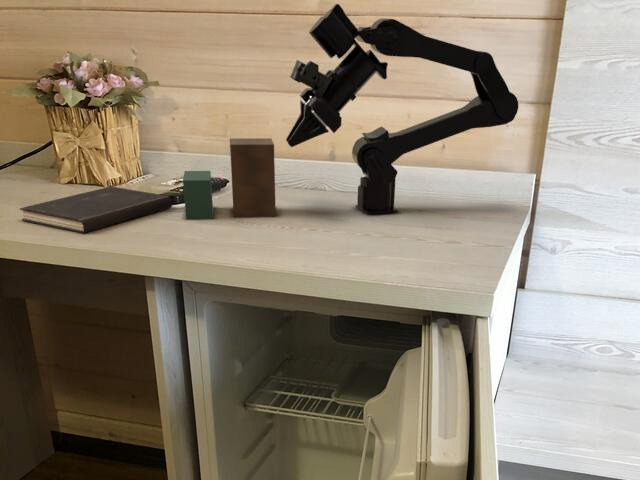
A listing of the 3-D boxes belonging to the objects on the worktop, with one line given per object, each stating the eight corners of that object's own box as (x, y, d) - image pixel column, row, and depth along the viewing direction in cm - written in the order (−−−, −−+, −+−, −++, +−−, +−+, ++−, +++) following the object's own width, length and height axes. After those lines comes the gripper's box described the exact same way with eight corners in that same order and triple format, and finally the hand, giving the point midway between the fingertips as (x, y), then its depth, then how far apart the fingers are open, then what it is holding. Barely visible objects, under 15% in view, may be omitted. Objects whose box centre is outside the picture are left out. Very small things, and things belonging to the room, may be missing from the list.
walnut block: (273, 207, 148) (271, 138, 141) (275, 216, 142) (274, 144, 135) (233, 208, 147) (229, 138, 140) (234, 217, 141) (230, 144, 134)
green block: (212, 207, 147) (210, 170, 143) (212, 218, 139) (210, 180, 136) (187, 207, 146) (184, 170, 143) (186, 219, 139) (182, 180, 135)
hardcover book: (22, 220, 135) (19, 208, 134) (112, 197, 152) (111, 186, 151) (84, 234, 128) (82, 220, 127) (172, 208, 146) (171, 196, 144)
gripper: (311, 40, 139) (254, 104, 143) (323, 45, 123) (260, 117, 127) (351, 87, 144) (295, 147, 148) (368, 97, 128) (305, 165, 132)
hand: (288, 143), depth 139 cm, fingers open, 3 cm apart
